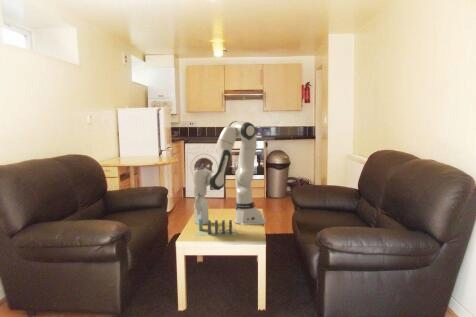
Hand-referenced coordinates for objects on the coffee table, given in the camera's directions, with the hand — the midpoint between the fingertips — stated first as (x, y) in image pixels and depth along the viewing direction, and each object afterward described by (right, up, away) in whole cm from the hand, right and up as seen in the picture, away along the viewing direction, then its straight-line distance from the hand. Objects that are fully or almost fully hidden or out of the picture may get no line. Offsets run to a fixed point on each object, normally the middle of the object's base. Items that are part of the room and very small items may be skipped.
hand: (199, 212), depth 226 cm
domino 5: (+21, -12, -7) cm, 25 cm away
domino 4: (+16, -12, -7) cm, 21 cm away
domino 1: (+1, -12, +2) cm, 12 cm away
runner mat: (+12, -13, -7) cm, 18 cm away
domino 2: (+7, -12, -6) cm, 16 cm away
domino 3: (+12, -12, -7) cm, 18 cm away
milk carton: (-1, -10, +18) cm, 20 cm away
